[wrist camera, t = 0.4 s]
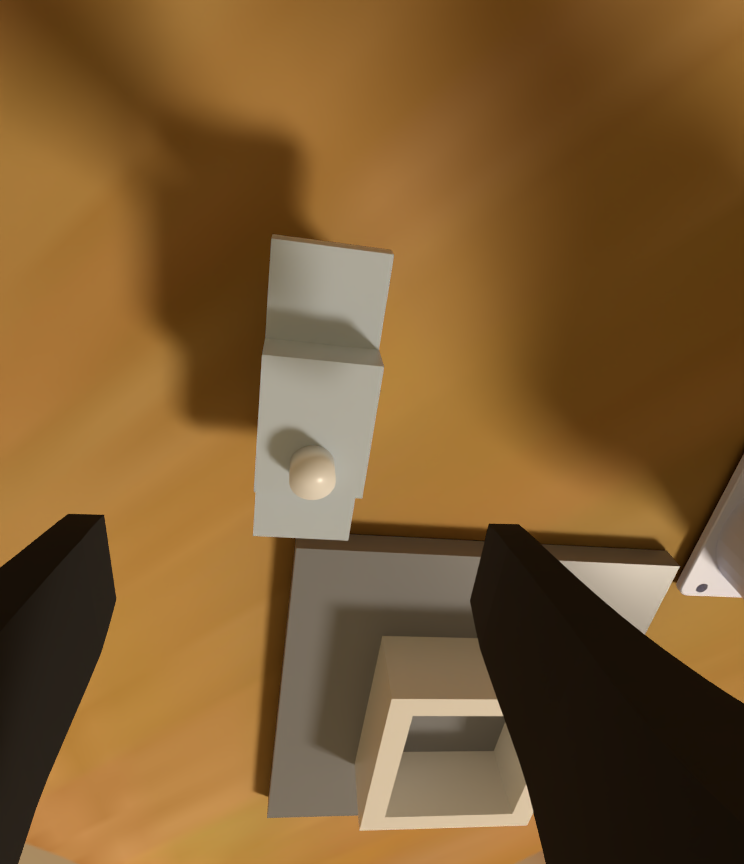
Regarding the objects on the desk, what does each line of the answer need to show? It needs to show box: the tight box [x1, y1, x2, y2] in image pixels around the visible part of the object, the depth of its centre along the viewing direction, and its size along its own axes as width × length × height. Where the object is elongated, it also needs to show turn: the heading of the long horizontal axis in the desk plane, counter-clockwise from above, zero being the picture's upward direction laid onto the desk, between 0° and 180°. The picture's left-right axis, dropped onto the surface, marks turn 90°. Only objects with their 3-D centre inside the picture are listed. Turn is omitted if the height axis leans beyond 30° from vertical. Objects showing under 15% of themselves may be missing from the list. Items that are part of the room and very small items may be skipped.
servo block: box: [253, 234, 394, 541], centre depth 17 cm, size 3×9×6 cm, turn 172°
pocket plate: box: [267, 534, 680, 831], centre depth 26 cm, size 16×18×4 cm
